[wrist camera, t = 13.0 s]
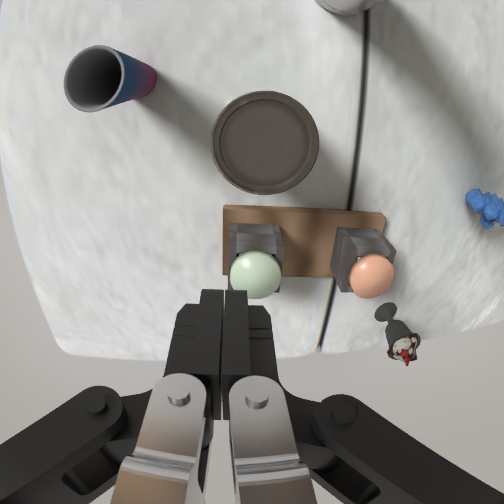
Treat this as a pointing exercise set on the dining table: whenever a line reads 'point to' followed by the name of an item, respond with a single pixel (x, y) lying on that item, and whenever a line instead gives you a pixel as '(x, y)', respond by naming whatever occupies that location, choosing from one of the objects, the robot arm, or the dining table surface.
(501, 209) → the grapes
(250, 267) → the button
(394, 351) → the sundae
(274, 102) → the coffee can
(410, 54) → the dining table surface
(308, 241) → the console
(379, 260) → the button
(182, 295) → the dining table surface
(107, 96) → the cup
